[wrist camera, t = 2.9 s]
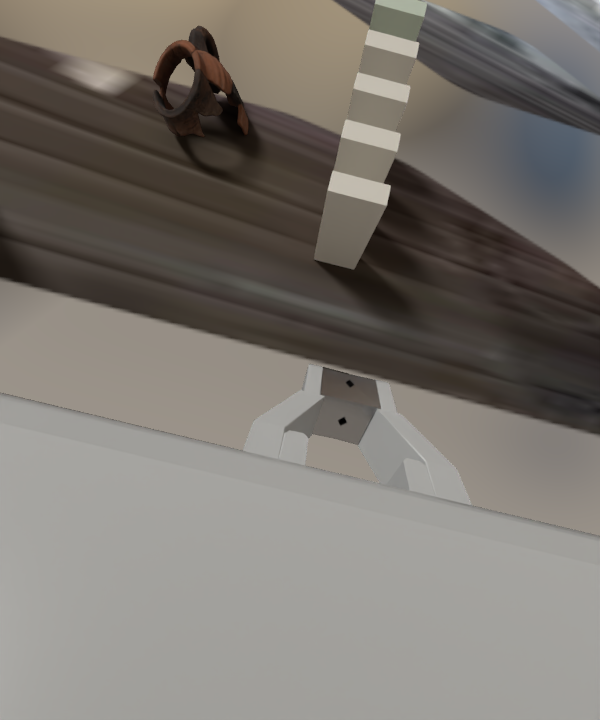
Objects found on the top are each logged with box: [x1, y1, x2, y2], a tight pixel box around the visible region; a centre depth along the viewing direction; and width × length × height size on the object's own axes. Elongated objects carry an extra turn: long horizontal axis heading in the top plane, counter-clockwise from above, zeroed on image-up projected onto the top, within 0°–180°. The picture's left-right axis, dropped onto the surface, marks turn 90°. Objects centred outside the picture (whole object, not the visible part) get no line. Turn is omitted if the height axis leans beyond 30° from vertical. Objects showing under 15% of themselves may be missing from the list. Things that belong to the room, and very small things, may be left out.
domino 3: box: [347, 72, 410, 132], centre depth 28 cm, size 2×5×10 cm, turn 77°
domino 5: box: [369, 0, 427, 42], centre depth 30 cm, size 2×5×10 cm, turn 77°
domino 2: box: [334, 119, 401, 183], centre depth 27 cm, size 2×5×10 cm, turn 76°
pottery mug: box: [153, 26, 248, 137], centre depth 31 cm, size 12×10×8 cm
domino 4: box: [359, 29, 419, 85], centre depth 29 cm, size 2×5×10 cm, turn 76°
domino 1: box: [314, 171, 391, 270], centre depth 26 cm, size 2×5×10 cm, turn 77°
